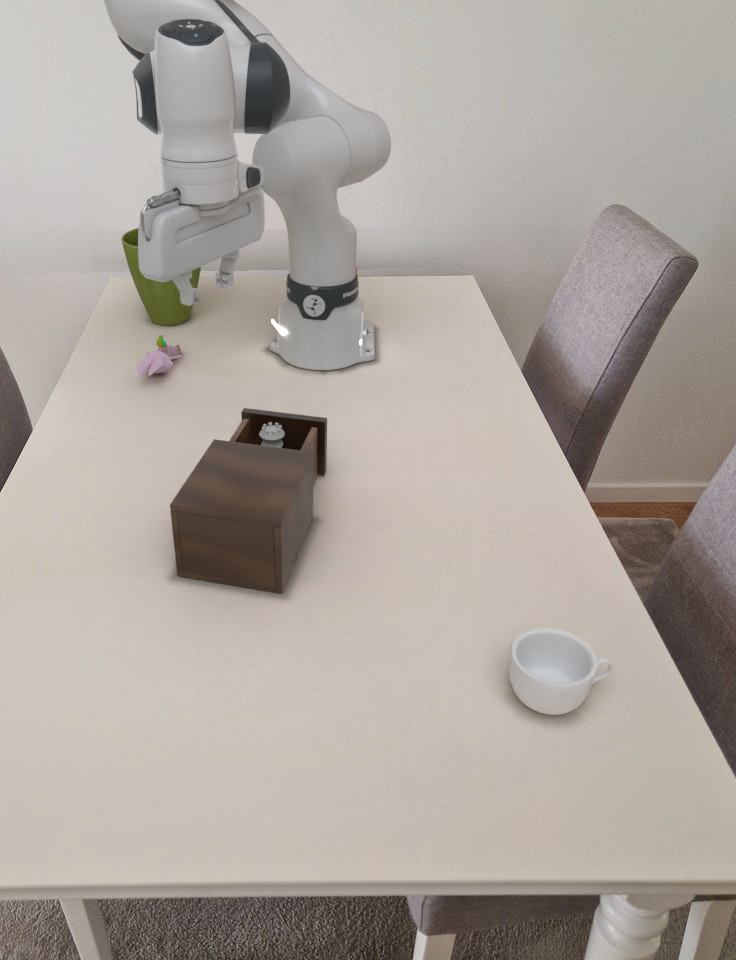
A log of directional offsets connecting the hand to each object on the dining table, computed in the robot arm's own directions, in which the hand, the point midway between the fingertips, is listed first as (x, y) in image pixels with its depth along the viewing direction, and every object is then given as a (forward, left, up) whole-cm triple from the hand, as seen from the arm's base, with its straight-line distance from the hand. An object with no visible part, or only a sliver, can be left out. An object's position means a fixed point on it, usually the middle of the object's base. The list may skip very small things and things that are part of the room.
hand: (207, 294), depth 105 cm
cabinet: (+18, +10, -24) cm, 32 cm away
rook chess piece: (+6, +10, -23) cm, 25 cm away
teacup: (+33, +46, -25) cm, 62 cm away
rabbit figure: (-25, -19, -25) cm, 40 cm away
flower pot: (-47, -26, -25) cm, 59 cm away
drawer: (+5, +10, -23) cm, 26 cm away
